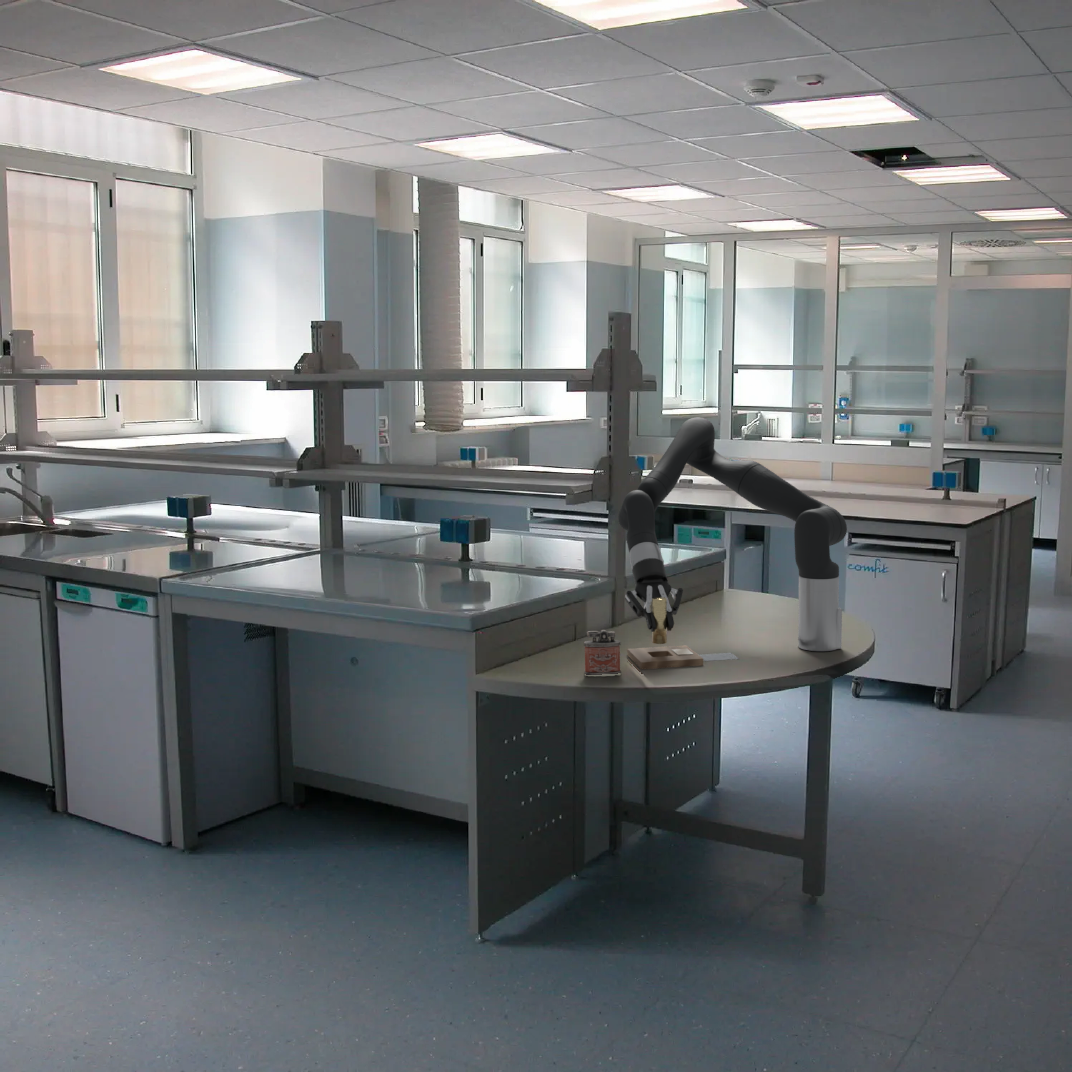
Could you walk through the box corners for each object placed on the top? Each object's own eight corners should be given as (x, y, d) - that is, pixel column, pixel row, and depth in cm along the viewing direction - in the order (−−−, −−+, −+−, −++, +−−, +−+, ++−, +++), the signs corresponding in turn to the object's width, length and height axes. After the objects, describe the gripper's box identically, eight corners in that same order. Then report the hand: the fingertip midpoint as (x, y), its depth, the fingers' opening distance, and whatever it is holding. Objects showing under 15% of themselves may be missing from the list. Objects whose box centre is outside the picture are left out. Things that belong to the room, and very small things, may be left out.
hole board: (686, 657, 260) (686, 644, 260) (703, 671, 247) (703, 657, 247) (627, 661, 258) (627, 648, 257) (641, 675, 245) (641, 661, 245)
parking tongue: (730, 658, 258) (730, 652, 258) (739, 665, 252) (739, 658, 252) (697, 661, 257) (697, 654, 257) (704, 667, 251) (704, 660, 251)
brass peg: (664, 640, 254) (664, 596, 252) (668, 643, 251) (668, 599, 249) (650, 641, 253) (650, 597, 252) (654, 644, 250) (654, 600, 249)
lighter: (620, 672, 249) (619, 628, 247) (621, 676, 245) (621, 631, 244) (583, 673, 248) (583, 629, 247) (585, 677, 245) (584, 632, 244)
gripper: (674, 574, 264) (689, 636, 253) (615, 577, 262) (628, 640, 251) (680, 555, 258) (695, 618, 247) (620, 558, 256) (633, 622, 245)
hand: (661, 629), depth 249 cm, fingers closed on brass peg, 3 cm apart
